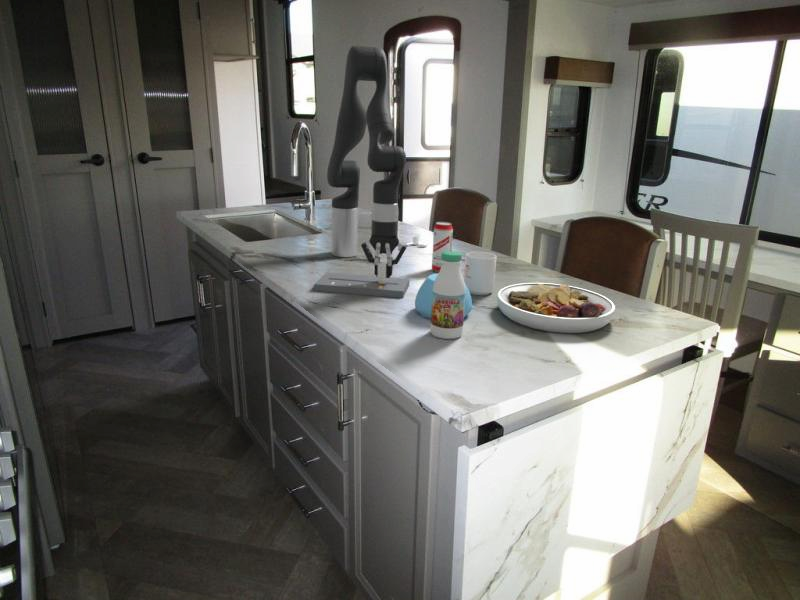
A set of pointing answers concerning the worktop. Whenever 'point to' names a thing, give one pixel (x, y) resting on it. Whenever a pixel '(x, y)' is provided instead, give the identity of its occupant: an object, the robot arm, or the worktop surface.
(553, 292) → the bowl
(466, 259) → the mug
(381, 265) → the fader tab
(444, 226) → the beer can
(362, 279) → the slider console
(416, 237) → the teacup and saucer
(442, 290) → the milk bottle
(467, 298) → the sugar bowl
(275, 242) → the worktop surface
